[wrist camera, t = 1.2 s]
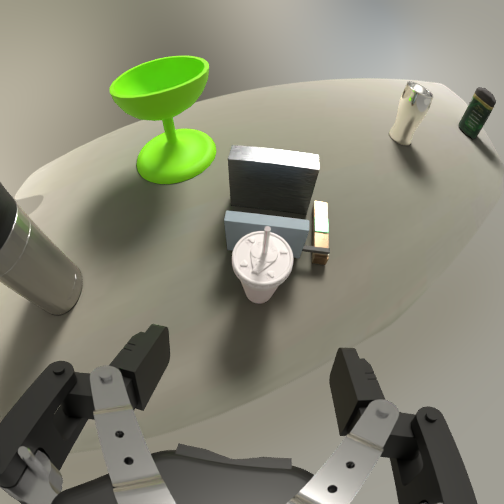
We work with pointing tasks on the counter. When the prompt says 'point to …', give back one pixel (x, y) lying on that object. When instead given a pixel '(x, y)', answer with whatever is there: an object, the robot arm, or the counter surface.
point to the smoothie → (262, 263)
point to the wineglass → (167, 116)
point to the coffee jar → (477, 112)
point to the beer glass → (410, 112)
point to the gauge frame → (278, 186)
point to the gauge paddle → (283, 226)
